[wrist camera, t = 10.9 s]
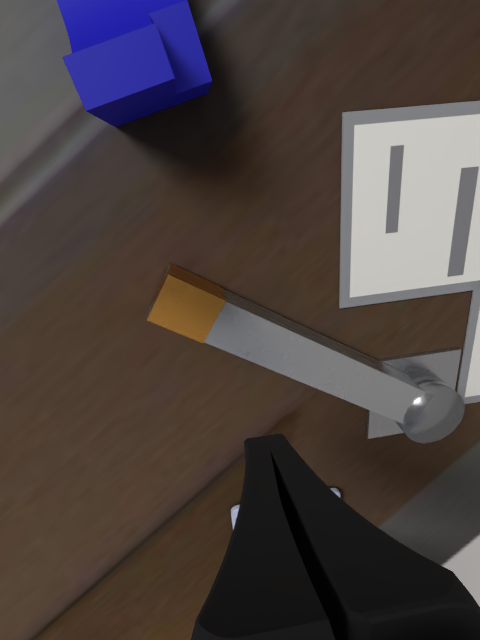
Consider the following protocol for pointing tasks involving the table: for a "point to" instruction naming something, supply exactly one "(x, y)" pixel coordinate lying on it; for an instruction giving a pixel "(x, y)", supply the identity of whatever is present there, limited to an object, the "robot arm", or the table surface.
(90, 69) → the blue cradle mount
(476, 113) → the label
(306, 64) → the table surface
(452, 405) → the orange-tipped grey bar
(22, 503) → the table surface
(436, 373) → the pivot base
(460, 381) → the label
